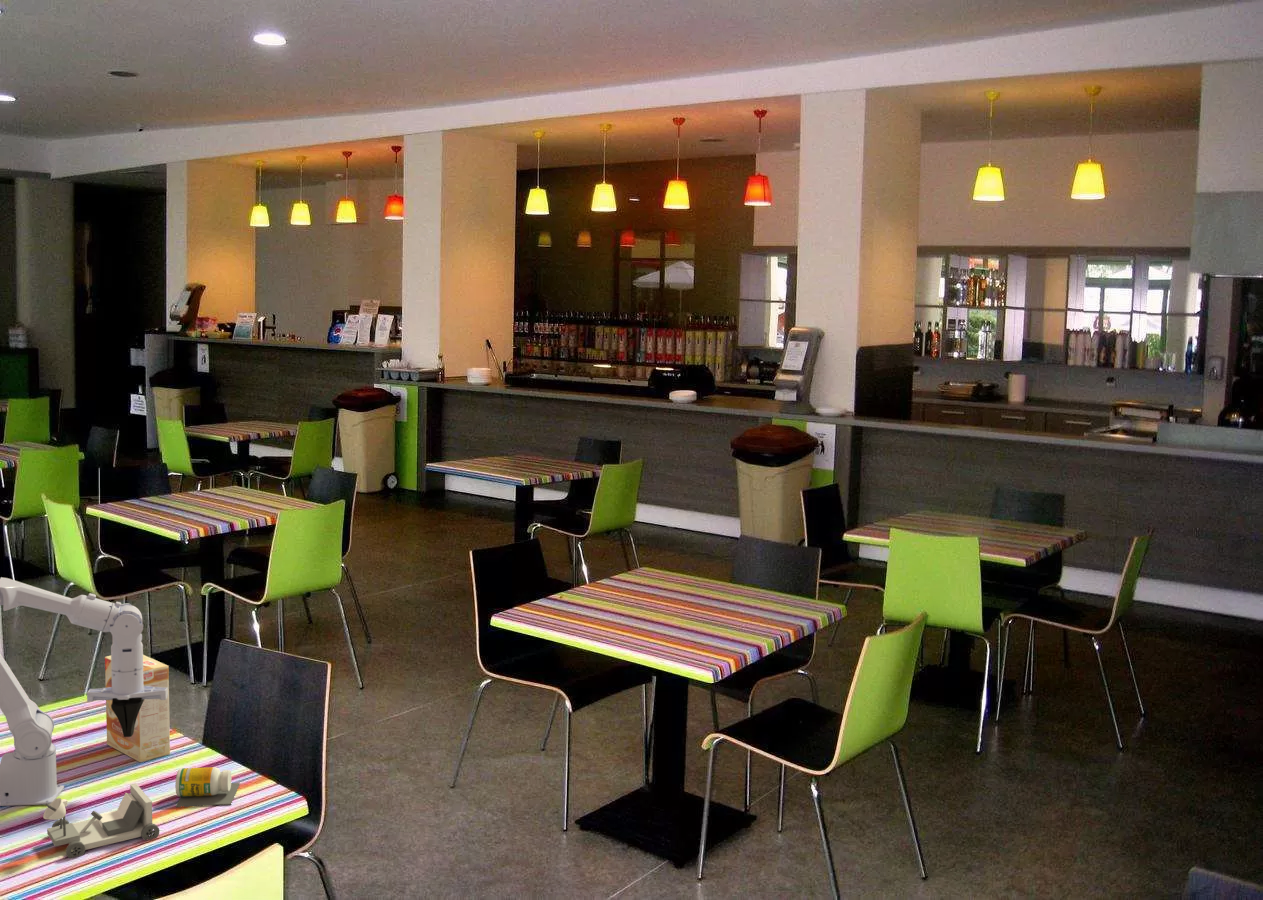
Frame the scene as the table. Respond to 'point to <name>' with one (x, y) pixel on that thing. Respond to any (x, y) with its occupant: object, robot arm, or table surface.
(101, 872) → the table surface
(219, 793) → the mat
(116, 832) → the toy car
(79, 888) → the table surface
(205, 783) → the supplement bottle
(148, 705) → the coffeecake box
